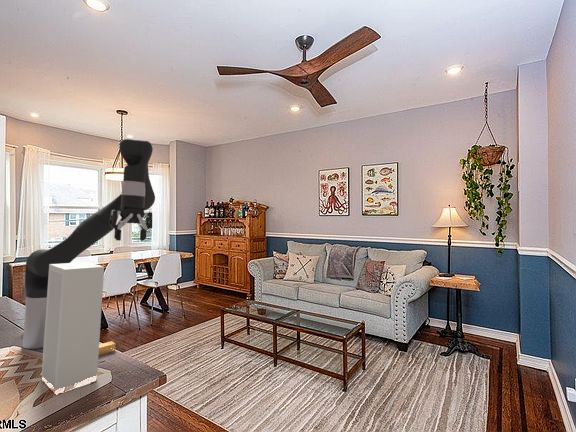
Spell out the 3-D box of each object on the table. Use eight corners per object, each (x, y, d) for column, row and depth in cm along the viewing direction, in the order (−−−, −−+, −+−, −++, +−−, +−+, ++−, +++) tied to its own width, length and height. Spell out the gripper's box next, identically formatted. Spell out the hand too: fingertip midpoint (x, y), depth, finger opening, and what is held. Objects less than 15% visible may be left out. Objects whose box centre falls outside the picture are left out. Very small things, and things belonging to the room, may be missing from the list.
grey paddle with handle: (45, 362, 97) (45, 354, 97) (106, 345, 112) (107, 338, 112) (56, 372, 91) (56, 364, 91) (119, 353, 105) (120, 346, 106)
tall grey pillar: (41, 379, 87) (49, 264, 88) (79, 368, 94) (87, 262, 95) (55, 395, 79) (64, 269, 80) (96, 381, 87) (104, 266, 88)
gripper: (117, 192, 104) (114, 241, 103) (157, 196, 115) (155, 240, 114) (107, 193, 108) (104, 239, 108) (147, 197, 119) (144, 239, 119)
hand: (130, 240), depth 111 cm, fingers open, 8 cm apart
